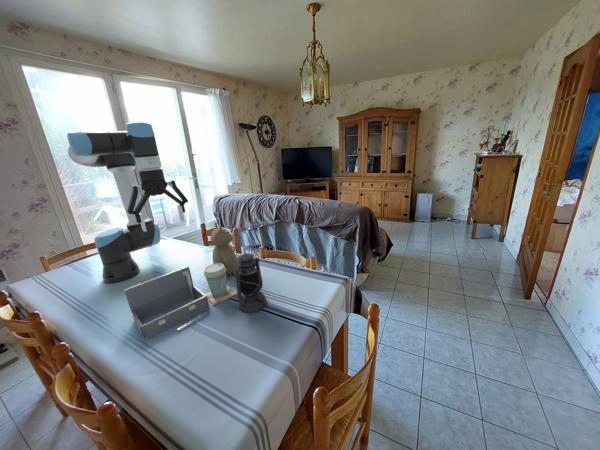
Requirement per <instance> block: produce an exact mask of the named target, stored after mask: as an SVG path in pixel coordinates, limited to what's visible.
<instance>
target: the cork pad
mask: <svg viewBox="0 0 600 450" xmlns="http://www.w3.org/2000/svg"><path fill="white" fill-rule="evenodd" d="M204 294H205V295H206V296H207V299H208V301H210V303H212V304H213V305H214V306H217V305H218V304H221V303H222V302H224V301H227V300H228V299H230V298H232V297H234V296H236V295H238V294H237V290H234V289H233V288H232V287H230V286H229V285H228V284H227V294H226V295H225V296H223V297H220V298H215V297H213V295H212V293H211V290H210V291H209V292H206V293H204Z"/></svg>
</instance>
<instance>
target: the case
mask: <svg viewBox="0 0 600 450" xmlns="http://www.w3.org/2000/svg"><path fill="white" fill-rule="evenodd" d="M123 292H124V295H125V298H126V300H127V303H128V306H129V309H130V312H131V315H132V318H133V320H134V321H133V322H134V323H135V325H136V328H137V330H138V331H139V333H140V335H141V336H142V339H143V341H146V340H148V339H150V338H152V337H153V336H156V335H158V334H160V333H162V332H164V331H166V330H167V329H169V328H172V327H174V326H175V325H177V324H179V323H182V322H184V321H186V320H188V319H189V318H191V317H194V316H196V315H197V314H199V313H202V312H204V311H205V310H206V309H208V308H210V305H209V300H208V299H207V296H206V295H205V294H206V293H204V292H203V291H202V290H201V289H199V287H197V286H196V285H195V284H194V282H193V278H192V273H191V269H190V266H189V265H187V266H183V267H181V268H179V269H176V270H173V271H170V272H168V273H165V274H162V275H160V276H157V277H155V278H151V279H148V280H146V281H144V282H140V283H138V284H136V285H133V286H130V287H127V288H125V289H123ZM195 298H196V299H195ZM189 299H195V300H193V301H191V302H189V303H186V304H184V305H182V306H180V307H178V308H176V309H173V310H171V311H169V312H168V313H165V314H162V315H160V316H159V317H157V318H155V319H153V320H151V321H148V322H146V323H144V324H142V322H141V321H144V320H146V319H147V318H150V317H153V316H155V315H157V314H159V313H160V312H163V311H166V310H168V309H169V308H172V307H174V306H177V305H179V304H181V303H182V302H183V303H184V301H187V300H189Z"/></svg>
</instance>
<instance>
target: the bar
mask: <svg viewBox="0 0 600 450" xmlns="http://www.w3.org/2000/svg"><path fill="white" fill-rule="evenodd" d="M206 316H207V315H206V312H204V311H202V312H200V314H198V315H197V316H196V315H195V317H194V318H191V319H190V320H188V321H187V322H185V323H184V324H182V325H180V326H179V327H178V328H176V331H177V332H178V333H180V332H182V331H183V330H185V329H186V328H188V327H190V326H191V325H193V324H194V323H196V322H197V321H200V320H201V319H203V318H204V317H206Z"/></svg>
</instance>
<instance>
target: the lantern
mask: <svg viewBox="0 0 600 450" xmlns="http://www.w3.org/2000/svg"><path fill="white" fill-rule="evenodd" d="M241 232H242V233H244V234H246V235H247V236H246V237H247V239H248V243H249V246H250V248H251V250H252V252H253V253H246V248H244V249H243V252H244V253H243V254H241V255H239V257H238V260H239V261H237V265H238V268H237V269H236V270H234V274H233V276H234V277H235V284H236V292H237V294H236V295H237V300H238V310H239V311H240V312H241V313H243V314H248V315H250V314H256V313H259V312H261V311H263V310H264V309H265V308H266V306H267V305H268V300H267V297H266V296H265V295H264V293H263V292H262V291H261V290H262V289H263V286H264V285H263V278H262V273H261V272H262V271H261V268H260V258H259V257H257V255H256V253H255V250H254V248H253V246H252V244H251V241H250V237H249V233H248V232H246V231H244V230H242V229H240V230H239V233H238V235H237V237H236V239H238V238H239V236H240V234H241ZM235 243H236V248H235V249H236V250H235V255H236V257H237V256H238V242H235ZM235 267H236V258H235Z"/></svg>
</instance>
